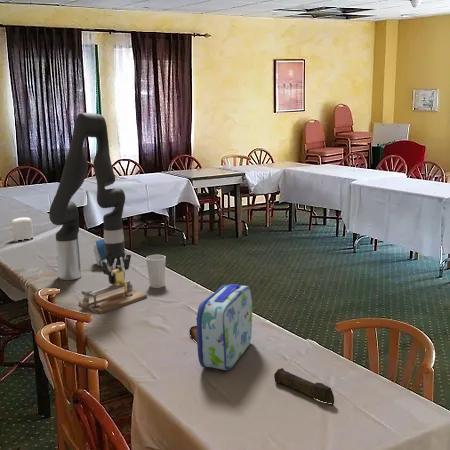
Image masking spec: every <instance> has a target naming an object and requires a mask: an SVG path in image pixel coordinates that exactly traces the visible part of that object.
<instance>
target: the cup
mask: <svg viewBox="0 0 450 450" xmlns="http://www.w3.org/2000/svg"><path fill="white" fill-rule="evenodd" d="M166 257H167V256H165V255H162V254H152V255H147V256H146V258H145V260H146V267H147V268H146V269H147V274H148V275H147V276H148V281H149V287H150V288H154V289H158V288H163V287H165V286H166V261H167V260H166Z"/></svg>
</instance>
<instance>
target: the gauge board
mask: <svg viewBox="0 0 450 450" xmlns="http://www.w3.org/2000/svg"><path fill="white" fill-rule="evenodd" d="M125 283H127V286H126V291H127V295H125V293H124V285H118V286H115V285H112V284H110V285H108V286H106V287H103V288H100V289H96V290H93V291H92V290H90V289H88V288H87V289H84V290H81V295H83V298H82V300H81V301H78V306H80V307H82V308H84V309H87V310H89V311H92V312H94V313H97V314H98V315H102V314H105V313H108V312H110V311H113V310H117V309H118V308H121V307H125V306H127V305H130V304H133V303H136V302H139V301H142V300H145V299H147V298H148V294H147V293H143V292H141V291H137V290H135V289H133V288H134V287H133V284H132V283H131V280H129V279H128V280H125Z"/></svg>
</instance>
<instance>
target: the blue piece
mask: <svg viewBox="0 0 450 450" xmlns="http://www.w3.org/2000/svg"><path fill="white" fill-rule="evenodd" d="M93 252H94V257H95V261H96V265H97V266H99V267H101V266H100V263H99V262H100V261H103V260H104V259H105V257H106V253H105V246H104V238H102V239H98V240H94V242H93ZM124 253H125V254H127V253H126V250H125V251H124ZM123 262H124V259H123ZM107 265H108V262H107ZM116 267H117V268H116V269H119V268H118V266H116Z"/></svg>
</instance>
